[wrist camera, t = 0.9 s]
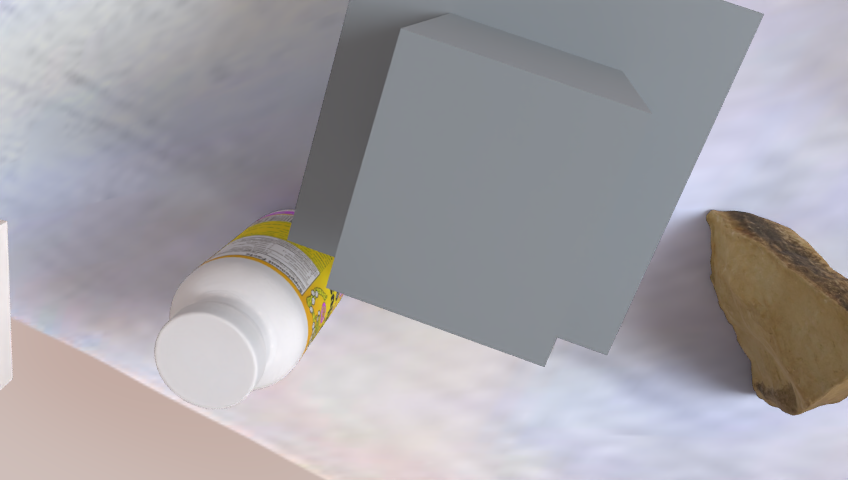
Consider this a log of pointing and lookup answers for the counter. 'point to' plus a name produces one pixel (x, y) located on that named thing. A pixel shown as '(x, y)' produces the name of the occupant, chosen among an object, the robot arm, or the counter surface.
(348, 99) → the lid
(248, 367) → the supplement bottle
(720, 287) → the rock
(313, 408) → the counter surface
